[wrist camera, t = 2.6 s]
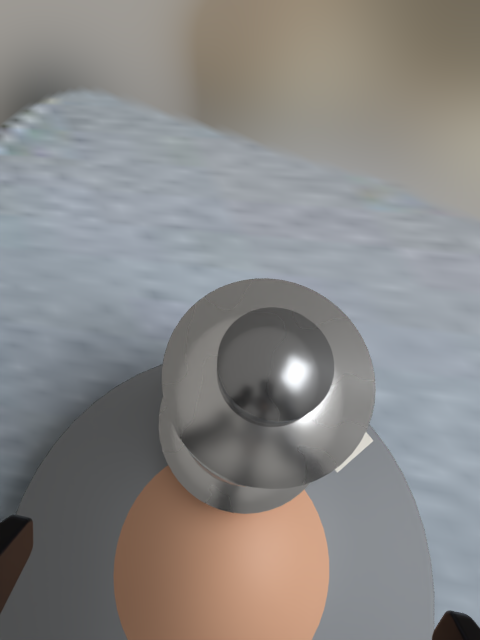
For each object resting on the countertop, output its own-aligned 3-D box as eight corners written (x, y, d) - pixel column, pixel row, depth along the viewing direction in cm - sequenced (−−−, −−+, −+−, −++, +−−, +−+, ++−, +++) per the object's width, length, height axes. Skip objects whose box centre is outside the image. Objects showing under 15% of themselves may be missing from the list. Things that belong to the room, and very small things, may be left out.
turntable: (156, 1021, 12) (151, 1076, 11) (-59, 509, 17) (-78, 511, 16) (500, 598, 17) (521, 606, 16) (258, 302, 22) (260, 293, 21)
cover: (224, 551, 16) (244, 642, 7) (131, 404, 18) (52, 324, 9) (353, 440, 18) (498, 397, 9) (257, 321, 20) (295, 187, 11)
